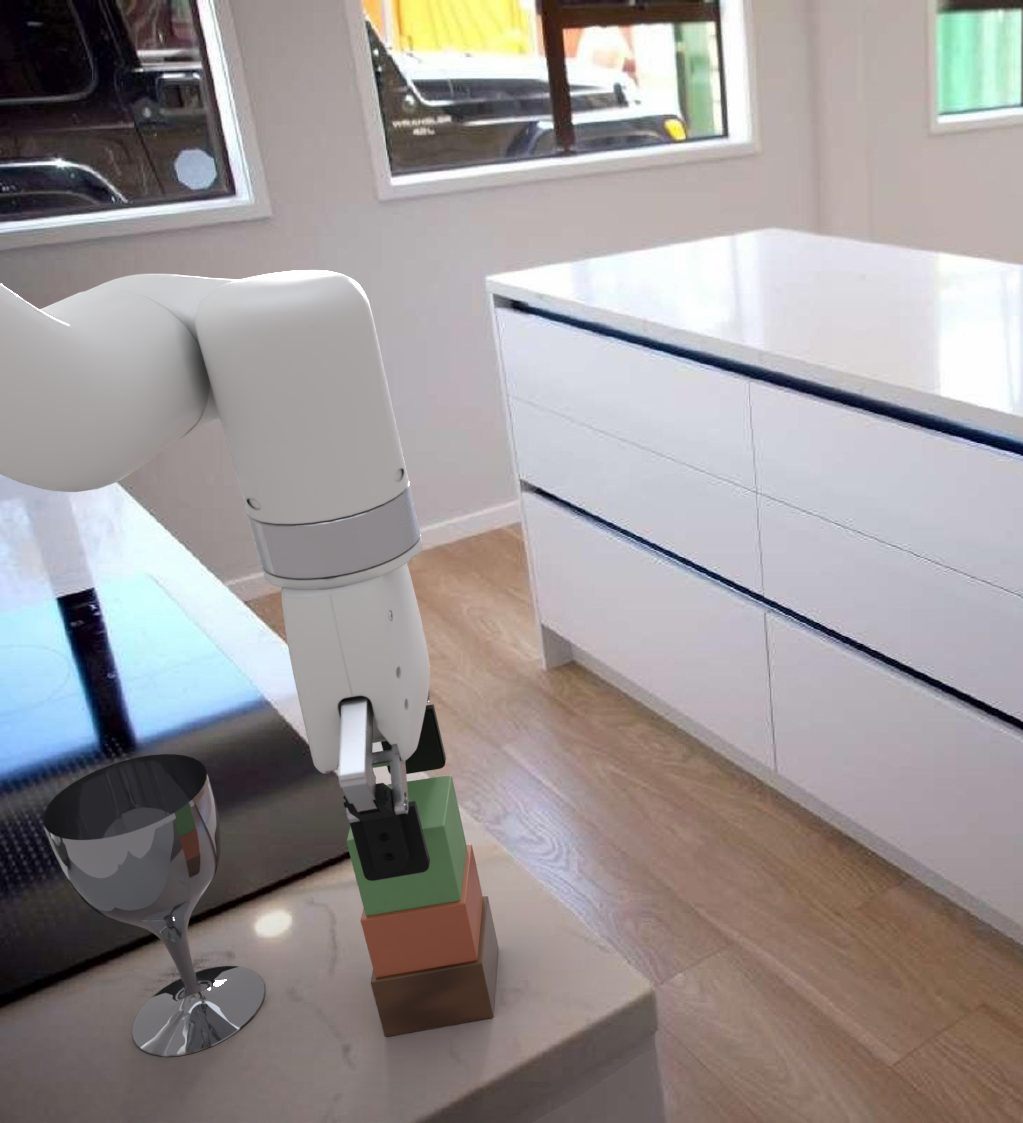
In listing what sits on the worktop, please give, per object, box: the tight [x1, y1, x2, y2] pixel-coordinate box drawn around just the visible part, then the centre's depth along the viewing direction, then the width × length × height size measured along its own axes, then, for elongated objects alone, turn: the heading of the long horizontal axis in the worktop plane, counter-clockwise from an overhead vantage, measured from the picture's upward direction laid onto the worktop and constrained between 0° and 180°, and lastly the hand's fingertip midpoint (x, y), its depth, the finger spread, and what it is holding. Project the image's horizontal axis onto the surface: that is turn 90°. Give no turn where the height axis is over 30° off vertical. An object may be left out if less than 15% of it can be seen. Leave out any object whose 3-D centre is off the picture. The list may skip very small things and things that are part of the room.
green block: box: [346, 774, 468, 916], centre depth 70 cm, size 5×5×5 cm
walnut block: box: [369, 895, 499, 1037], centre depth 74 cm, size 6×6×4 cm
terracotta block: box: [360, 843, 484, 978], centre depth 72 cm, size 6×6×4 cm
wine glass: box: [42, 753, 266, 1057], centre depth 71 cm, size 8×8×15 cm
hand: (409, 818), depth 70 cm, fingers open, 9 cm apart
